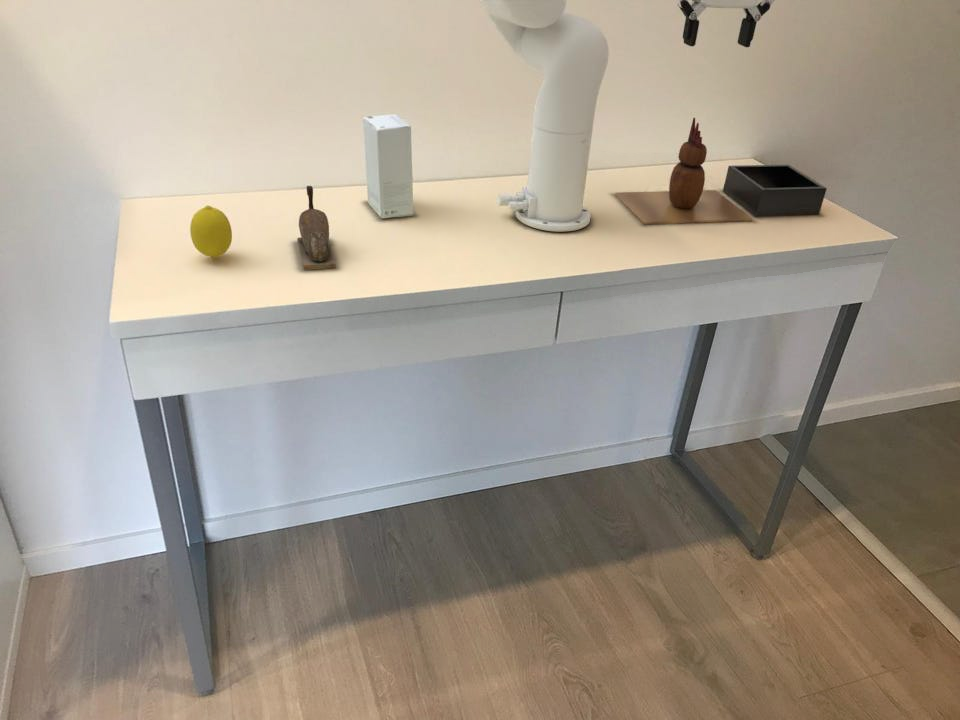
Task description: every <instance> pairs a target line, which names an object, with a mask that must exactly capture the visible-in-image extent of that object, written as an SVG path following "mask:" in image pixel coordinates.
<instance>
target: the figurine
mask: <svg viewBox="0 0 960 720" xmlns="http://www.w3.org/2000/svg"><path fill="white" fill-rule="evenodd" d="M305 187H306V188H305V189H306V196H307V197H308V209H306V210H304V211H302V212H301V213H300V215H299V217H298V218H299V219H298V229H299V233H300V237H297V239H296V240H297V245H298V250H299V255H300V259H301V264H302V268H303V271H310V270H325V269H335V268H336V262H335V258H334V256H333V252H332V249H331V245H330V225H329V224H330V223H329V220H328V216H327V214H326V212H324V211H322V210H320V209H317V208H314V187H313V186H312V185H307V186H305Z"/></svg>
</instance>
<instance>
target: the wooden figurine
mask: <svg viewBox="0 0 960 720" xmlns="http://www.w3.org/2000/svg"><path fill="white" fill-rule="evenodd" d="M699 126H700V124H699V122H697V123H696V117H693V119H692V122H691V126H690V130H689V134H688V138H687V141H685V142H683V143H682V145H681V146H680V148H679V152H678V160H679V162H678V163H676V165H675V166H674V167H673V169H672V171H671V174H670V178H669V184H668V185H669V187H668V191H669V198H670V202H671V203H672V204H673V205H674V206H676V207H678V208H684V209H689V208H692V207H694V206H695V205H696V204H697V202H698V201H699V199H700V197H701V194H702V191H703V190H704V187H705V182H706V174H705V173H706V172H705V169H704V167H703V166H702V165H703V164H704V163H705V162H706V159H707V153H708V149H707V146H706V145H705V144H704V143H703V136H701V130H699V129H700V127H699Z"/></svg>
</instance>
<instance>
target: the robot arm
mask: <svg viewBox="0 0 960 720" xmlns="http://www.w3.org/2000/svg"><path fill="white" fill-rule="evenodd" d="M676 1H677V6H678V8H679V9H680V11H681V12H682V13H683V17H685V21H684V26H683V31H682V39H683V44H684V45H687V46H689V47H695V46H696V43H697V37H698V33H699V27H700V19H698V18H699V16H701V14H702V13H703V12H704V11H705V10H706V9H707V8H710V9H711V8H714V9H742V11H743V13H744V14H745V17H743V18H742V20H741V24H740V27H739V33H738V37H737V44H738V45H740V46H741V47H744V48H750V47H751V44H752V41H754V35H755V32H756V27H757V22H759V21H760V20H761V19H762V16H764V15H765V14H766V13H767V12H768V11H769V10H771V5H773V3H774V2H775V0H761V1H760V0H691V1H692V2H691V3H690V2H689V1H688V0H676ZM759 1H760V2H759ZM479 2H480V5H481V7H482V9H483V11H484V12H485V14H486V15H487V17H488V18H489V20H490V21H491V22H492V24H493V25H494V27H495V28H496V30H497V31H498V33H499V34H500V35H501V36H502V38H503V39H504V41H505V42H506V43H507V45H508V46H509V47H510V49H511V51H512V52H513V53H514V54H515V55H516V57H517V58H518V59H519V61H520V62H521V63H522V64H524V65H525V66H526V67H528V68H529V69H531V70H533V71H535V72H537V73H539V74H541V75H543V76H544V78H543V81H542V84H541V86H540V89H539V91H538V94H537V97H536V100H535V103H534V108H533V117H532V131H531V141H530V153H529V164H528V175H527V186H522V187H521V191H519V192H516V194H509V193H505V194H503V193H502V194H498V195H497V205H498V207H508V210H509V211H515V217H516V219H517V220H518V221H519V222H520V223H522V224H524V225H526V226H528V227H531V228H533V229H537V230H542V231H546V232H556V233H557V232H559V233H561V232H565V233H566V232H574V231H578V230H581V229H583V228H585V227H587V226H588V225H589V224H590V221H591V212H590V211H589V209H587V208H586V207H585V206H584V199H585V190H586V183H587V175H588V168H589V160H590V152H591V144H592V137H593V129H594V121H595V113H596V107H597V102H598V97H599V94H600V89H601V85H602V82H603V79H604V77H605V73H606V69H607V66H608V63H609V55H610V54H609V53H610V51H609V44H608V41H607V38H606V36H605V34H604V32H603V31H602V29H601V28H600V27H599V26H597V25H596V24H595V23H593V22H592V21H590V20H588V19H586V18H584V17H581V16H579V15H575V14H572V13H569V12H566V11H565V9H566V6H567V0H479Z"/></svg>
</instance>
